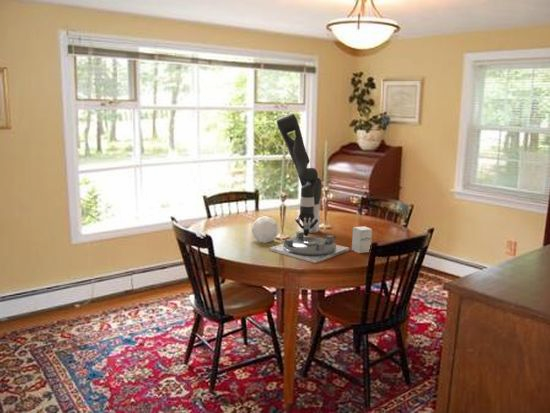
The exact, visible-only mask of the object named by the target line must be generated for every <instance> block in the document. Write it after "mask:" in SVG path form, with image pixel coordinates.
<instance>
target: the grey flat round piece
mask: <svg viewBox="0 0 550 413" xmlns="http://www.w3.org/2000/svg"><path fill="white" fill-rule="evenodd" d="M334 241H335V237H334V235H326V236H325V238H324V237H318V236H317V237H316V236H305V235H304V233H303V231H296V235H295V237H290V238H287V239H284V240H283V243H282V244H283V247H284V249H285V250H287V251H289V252H293V253H297V254H303V255H323V254H328V253H332V252H334V251H335V250H336V245H337V244H336V242H334Z"/></svg>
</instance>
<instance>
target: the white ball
mask: <svg viewBox="0 0 550 413" xmlns="http://www.w3.org/2000/svg"><path fill="white" fill-rule="evenodd" d="M251 232H252V235H253V237H254V239H256V241H257V242H261V243H264V244H267V243H270V242H273V241H274V240H275V239H276V238H277V236H278V232H279V228H278V223H277V221H276V220H275V219H273V218H272V217H271V216H270V217H269V216H266V215H263V216H260V217H258V218H256V220H255V221H254V222H253V223H252V227H251Z"/></svg>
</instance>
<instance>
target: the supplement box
mask: <svg viewBox="0 0 550 413" xmlns="http://www.w3.org/2000/svg"><path fill="white" fill-rule="evenodd" d="M372 234H373V228H370V227H367V226H366V225H364V226H354V227H353V228H352V239H351V240H352V241H351V242H352V243H351V251H353V252H356V253H357V254H363V253H370V252H369V249H370V245H371V246H372V237H373V236H372Z"/></svg>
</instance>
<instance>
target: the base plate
mask: <svg viewBox="0 0 550 413" xmlns="http://www.w3.org/2000/svg"><path fill="white" fill-rule="evenodd" d="M268 249H269V250H268V251H270V252H274V253H277V254H280V255H284V256H289V257H291V258H295V259H298V260H303V261H306V262H310V263H313V264H314V263H315V264H317V263H320V262H322V261H323V262H324V261H325V260H328V259H330V258H333V257H336V256H338V255H341V254H344V253H346V252H349V251H350V247H347V246H344V245H339V244H336V250H335V251H334V252H332V253H328V254H323V255H303V254H297V253H293V252H289V251H287V250H285V249H284V247H283V243H281V244H280V243H279V244H277V245H275V246H270V247H269V248H268Z"/></svg>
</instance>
